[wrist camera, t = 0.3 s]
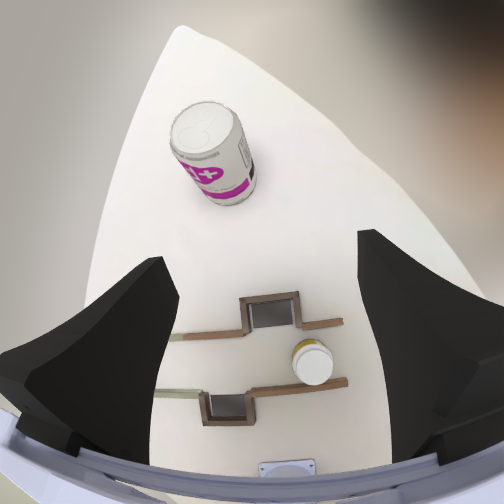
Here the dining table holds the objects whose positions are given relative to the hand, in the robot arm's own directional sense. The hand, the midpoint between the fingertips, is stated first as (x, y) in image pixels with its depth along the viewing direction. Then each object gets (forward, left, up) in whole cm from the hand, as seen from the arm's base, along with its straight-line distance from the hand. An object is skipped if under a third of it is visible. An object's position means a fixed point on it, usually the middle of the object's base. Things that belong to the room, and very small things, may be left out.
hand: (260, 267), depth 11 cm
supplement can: (+18, +6, -30) cm, 35 cm away
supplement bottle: (-8, -3, -30) cm, 31 cm away
